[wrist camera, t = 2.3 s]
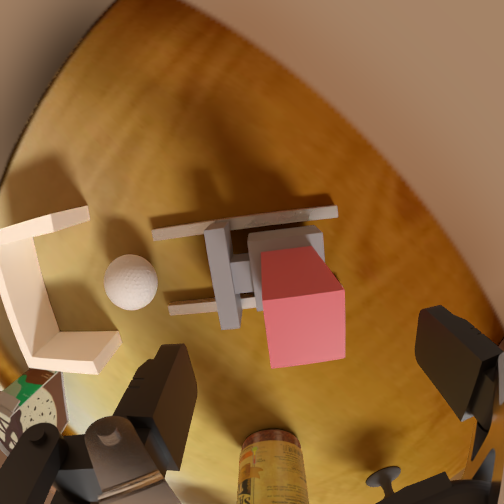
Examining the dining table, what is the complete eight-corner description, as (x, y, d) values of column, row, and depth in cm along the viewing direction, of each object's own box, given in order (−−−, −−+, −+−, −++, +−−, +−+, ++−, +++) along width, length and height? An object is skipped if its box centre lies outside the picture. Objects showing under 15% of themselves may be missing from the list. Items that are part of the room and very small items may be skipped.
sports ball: (174, 278, 22) (158, 298, 19) (141, 306, 23) (122, 329, 19) (140, 237, 22) (117, 250, 18) (109, 269, 22) (84, 286, 19)
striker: (312, 210, 20) (361, 241, 10) (319, 299, 21) (359, 385, 12) (211, 223, 20) (168, 265, 11) (225, 310, 22) (204, 403, 12)
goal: (87, 205, 21) (50, 214, 16) (122, 342, 24) (98, 374, 19) (21, 223, 22) (-15, 233, 17) (55, 342, 24) (28, 367, 20)
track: (334, 204, 21) (337, 205, 20) (340, 291, 22) (342, 295, 22) (155, 228, 22) (151, 230, 21) (172, 311, 23) (170, 315, 22)
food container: (19, 333, 25) (-37, 378, 15) (61, 355, 25) (8, 413, 15) (32, 407, 27) (-5, 453, 18) (70, 427, 28) (36, 480, 18)
